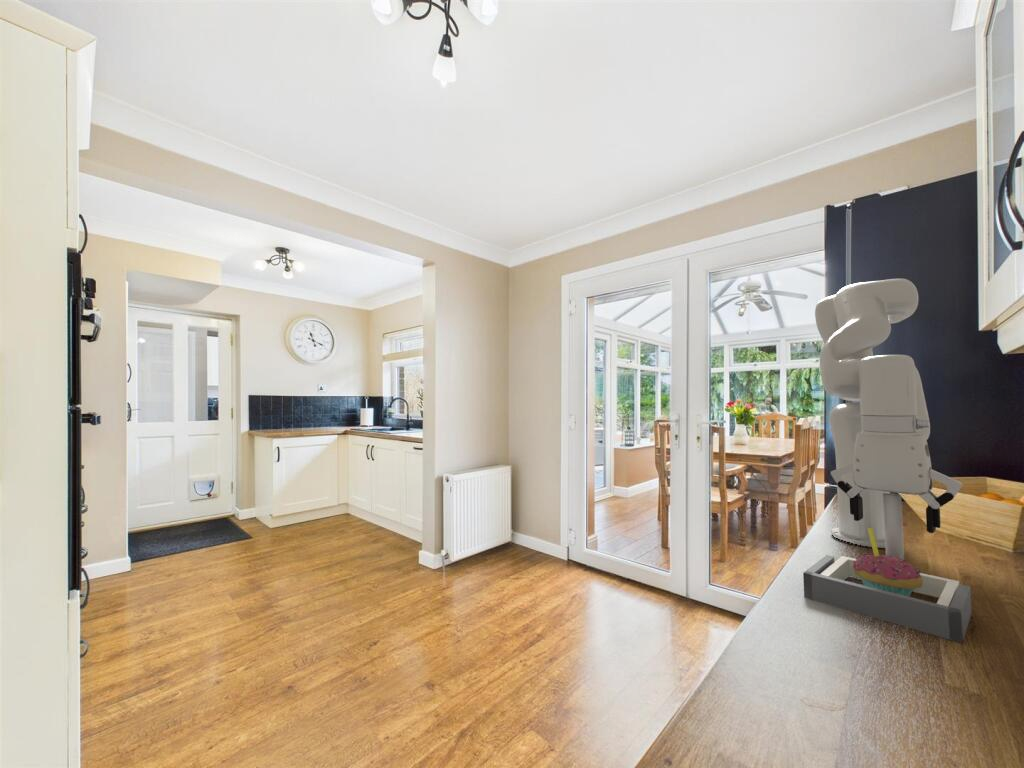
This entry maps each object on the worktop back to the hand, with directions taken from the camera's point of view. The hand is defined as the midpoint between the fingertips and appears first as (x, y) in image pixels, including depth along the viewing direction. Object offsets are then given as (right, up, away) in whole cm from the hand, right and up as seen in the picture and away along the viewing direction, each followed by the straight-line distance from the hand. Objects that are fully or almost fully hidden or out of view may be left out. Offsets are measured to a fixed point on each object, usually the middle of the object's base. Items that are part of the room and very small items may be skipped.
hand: (893, 525), depth 76 cm
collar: (-5, -11, -5) cm, 13 cm away
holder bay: (-7, -11, -6) cm, 14 cm away
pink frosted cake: (-5, -11, -5) cm, 13 cm away
